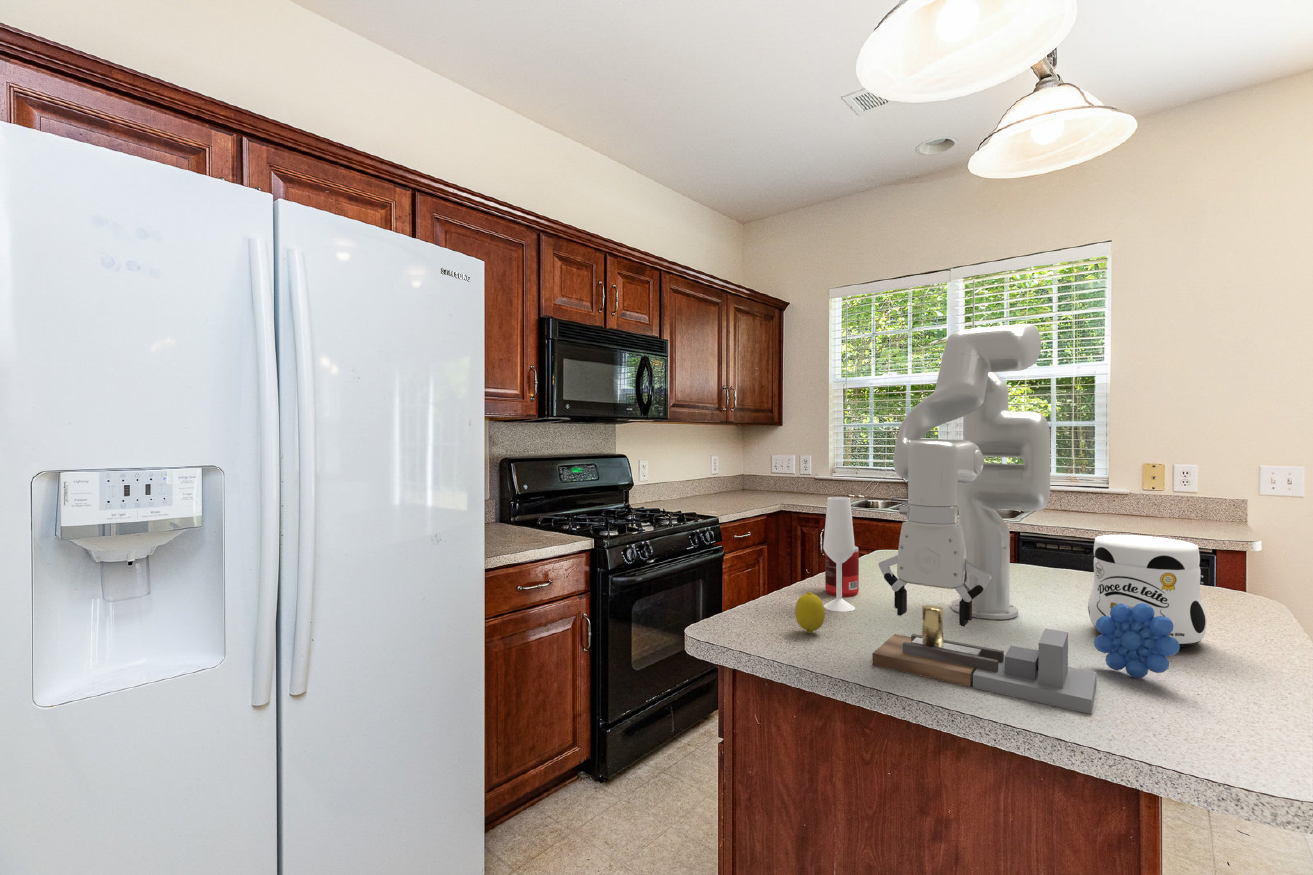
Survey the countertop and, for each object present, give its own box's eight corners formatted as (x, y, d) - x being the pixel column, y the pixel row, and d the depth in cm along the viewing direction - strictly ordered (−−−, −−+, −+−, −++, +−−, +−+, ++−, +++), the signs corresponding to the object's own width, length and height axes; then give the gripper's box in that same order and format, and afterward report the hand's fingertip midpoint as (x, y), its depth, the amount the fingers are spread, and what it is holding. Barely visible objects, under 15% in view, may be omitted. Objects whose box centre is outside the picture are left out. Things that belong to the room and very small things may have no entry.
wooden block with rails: (894, 644, 114) (894, 625, 114) (1007, 667, 103) (1007, 645, 103) (872, 665, 104) (872, 643, 104) (993, 692, 93) (993, 668, 93)
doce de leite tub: (1104, 648, 111) (1105, 547, 111) (1076, 620, 127) (1076, 531, 127) (1226, 660, 105) (1227, 553, 105) (1181, 628, 121) (1181, 536, 121)
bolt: (916, 645, 107) (916, 602, 107) (981, 658, 101) (981, 613, 101) (911, 651, 104) (911, 607, 104) (977, 664, 98) (977, 617, 98)
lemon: (825, 638, 117) (825, 596, 117) (795, 637, 118) (795, 595, 118) (823, 629, 123) (823, 588, 122) (795, 627, 124) (794, 587, 124)
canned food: (859, 589, 152) (859, 544, 152) (858, 598, 144) (858, 551, 144) (826, 587, 154) (826, 543, 154) (824, 595, 147) (824, 549, 147)
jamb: (987, 663, 104) (988, 615, 104) (1096, 685, 95) (1096, 633, 95) (972, 687, 95) (972, 635, 95) (1091, 714, 86) (1091, 656, 86)
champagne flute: (825, 601, 142) (824, 496, 141) (856, 604, 139) (855, 497, 139) (821, 609, 136) (821, 499, 135) (854, 613, 133) (853, 500, 133)
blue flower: (1193, 685, 95) (1194, 607, 95) (1170, 694, 92) (1170, 613, 92) (1109, 660, 105) (1109, 589, 105) (1085, 667, 102) (1086, 594, 102)
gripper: (872, 513, 106) (872, 614, 106) (986, 522, 95) (985, 635, 95) (886, 509, 112) (886, 605, 112) (995, 517, 101) (994, 623, 101)
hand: (932, 618), depth 104 cm, fingers open, 9 cm apart
